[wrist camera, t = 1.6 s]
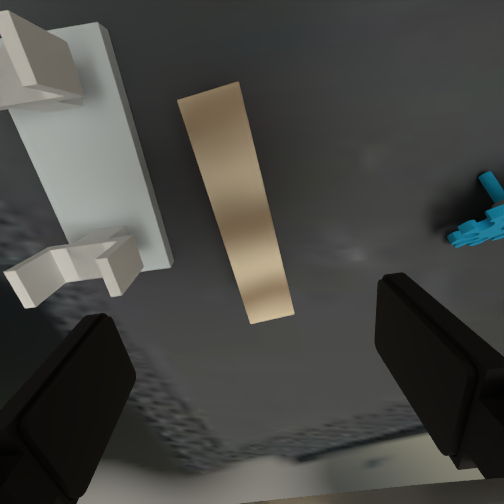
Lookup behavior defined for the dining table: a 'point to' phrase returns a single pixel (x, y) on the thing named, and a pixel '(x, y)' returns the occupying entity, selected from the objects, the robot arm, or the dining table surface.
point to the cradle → (80, 158)
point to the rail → (238, 198)
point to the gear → (494, 227)
